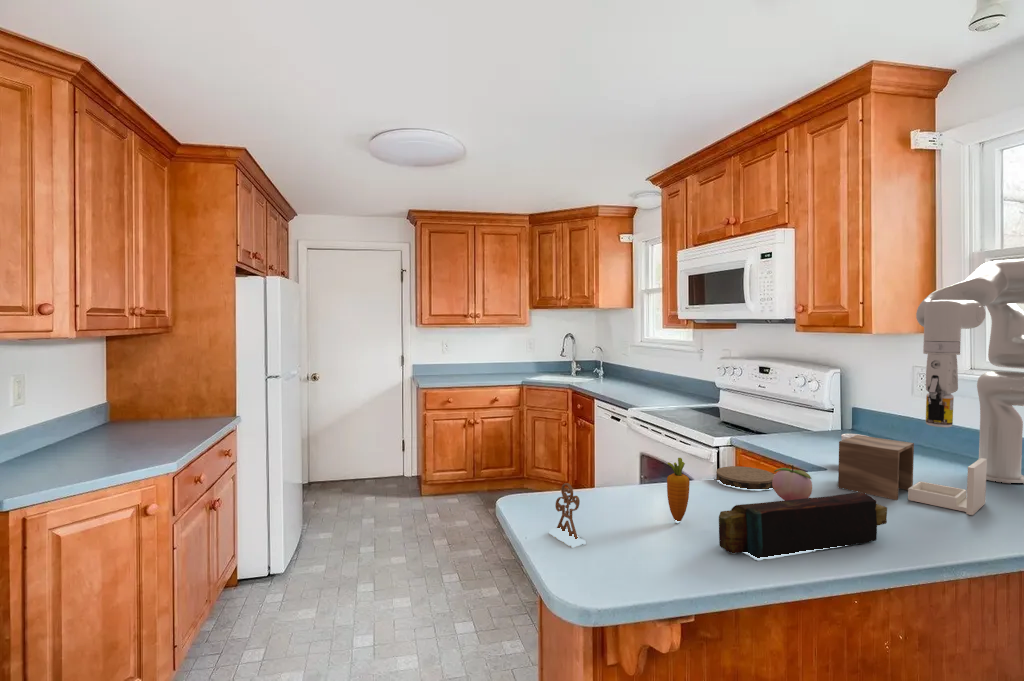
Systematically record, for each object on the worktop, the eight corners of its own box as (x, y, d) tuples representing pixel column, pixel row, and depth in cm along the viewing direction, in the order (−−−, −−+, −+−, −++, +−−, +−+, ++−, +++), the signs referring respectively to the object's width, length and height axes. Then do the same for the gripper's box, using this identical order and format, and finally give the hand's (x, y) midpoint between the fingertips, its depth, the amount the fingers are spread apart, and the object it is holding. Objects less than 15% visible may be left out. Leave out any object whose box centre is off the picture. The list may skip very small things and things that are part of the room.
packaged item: (852, 526, 128) (853, 482, 127) (893, 542, 118) (894, 495, 118) (706, 545, 116) (706, 498, 116) (737, 565, 107) (738, 514, 107)
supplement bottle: (921, 425, 145) (922, 385, 144) (930, 423, 148) (931, 384, 147) (947, 428, 140) (948, 387, 140) (956, 426, 143) (957, 386, 143)
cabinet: (856, 478, 165) (857, 435, 164) (912, 489, 154) (913, 443, 154) (838, 487, 156) (839, 441, 156) (896, 500, 145) (898, 450, 145)
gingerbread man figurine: (548, 533, 122) (548, 479, 122) (562, 530, 124) (562, 477, 124) (571, 548, 115) (572, 490, 114) (587, 544, 117) (587, 487, 116)
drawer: (921, 490, 153) (922, 449, 152) (985, 503, 142) (986, 458, 142) (905, 501, 144) (907, 457, 143) (972, 515, 134) (974, 468, 133)
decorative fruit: (817, 504, 142) (818, 465, 142) (807, 512, 136) (808, 471, 136) (778, 496, 148) (778, 459, 148) (767, 504, 142) (768, 465, 142)
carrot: (677, 528, 125) (678, 462, 125) (661, 521, 130) (662, 457, 129) (693, 525, 128) (694, 460, 127) (677, 518, 132) (678, 455, 131)
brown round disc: (760, 496, 150) (760, 485, 150) (705, 483, 162) (705, 472, 162) (785, 484, 160) (785, 474, 160) (732, 473, 172) (732, 463, 172)
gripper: (950, 350, 135) (948, 424, 135) (968, 348, 146) (966, 417, 146) (913, 348, 141) (911, 420, 141) (933, 347, 152) (931, 413, 152)
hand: (939, 418), depth 144 cm, fingers closed on supplement bottle, 5 cm apart
